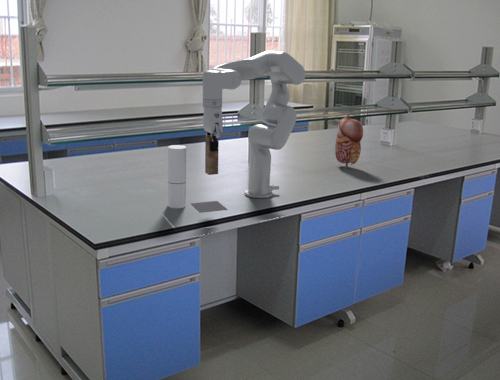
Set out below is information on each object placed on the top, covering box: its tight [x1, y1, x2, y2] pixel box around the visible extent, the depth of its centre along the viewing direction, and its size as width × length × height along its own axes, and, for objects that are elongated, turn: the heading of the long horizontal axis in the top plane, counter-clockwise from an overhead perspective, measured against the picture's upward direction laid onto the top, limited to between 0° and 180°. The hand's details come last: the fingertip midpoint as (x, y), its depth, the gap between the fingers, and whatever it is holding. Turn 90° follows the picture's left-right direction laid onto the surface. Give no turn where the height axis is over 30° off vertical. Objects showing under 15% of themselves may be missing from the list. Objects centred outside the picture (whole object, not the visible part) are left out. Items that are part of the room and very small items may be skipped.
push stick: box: [204, 135, 219, 176], centre depth 207 cm, size 4×4×15 cm
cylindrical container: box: [167, 144, 187, 209], centre depth 210 cm, size 7×7×25 cm
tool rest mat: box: [189, 200, 228, 213], centre depth 214 cm, size 12×12×1 cm
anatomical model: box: [334, 113, 364, 168], centre depth 288 cm, size 12×16×30 cm
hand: (211, 149), depth 207 cm, fingers closed on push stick, 4 cm apart
